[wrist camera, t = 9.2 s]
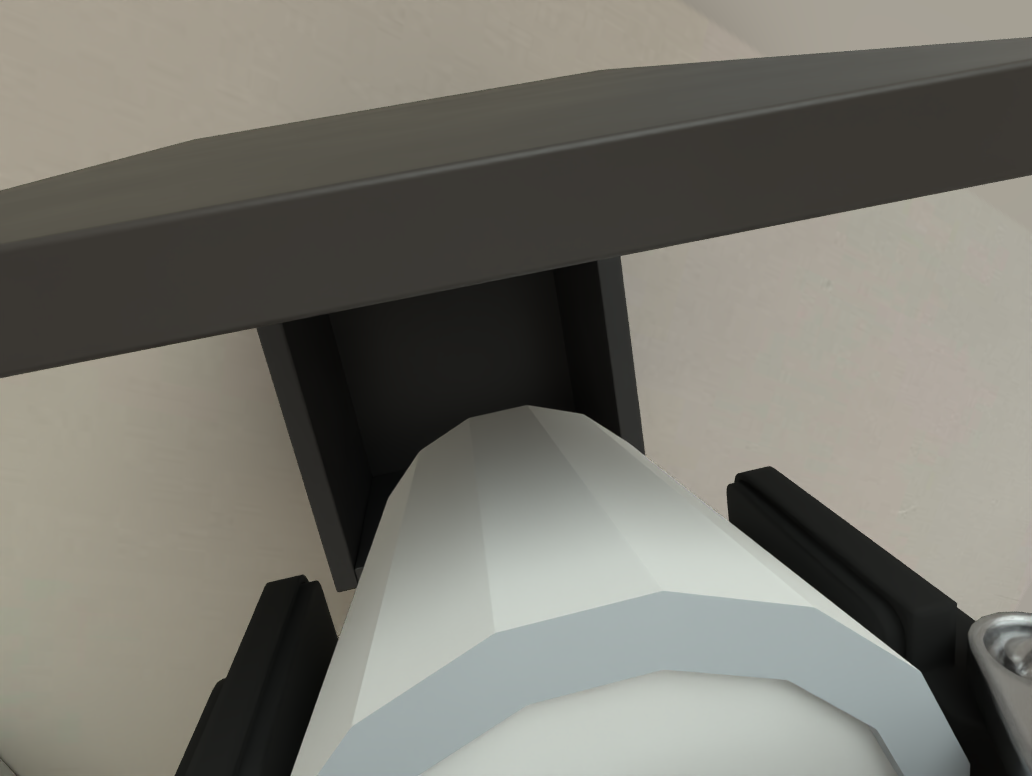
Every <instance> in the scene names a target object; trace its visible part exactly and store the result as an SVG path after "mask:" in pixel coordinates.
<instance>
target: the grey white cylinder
mask: <svg viewBox="0 0 1032 776" xmlns="http://www.w3.org/2000/svg"><path fill="white" fill-rule="evenodd" d="M291 776H970V763H969V761H968V759H967V757H966V755H965V754H964V752H963V750H962V748H961V746H960V744H959V742H958V740H957V739H956V737H955V735H954V733H953V731H952V729H951V727H950V726H949V724H948V722H947V720H946V718H945V716H944V714H943V712H942V711H941V709H940V707H939V705H938V703H937V701H936V699H935V698H934V696H933V694H932V692H931V690H930V688H929V686H928V684H927V683H926V681H925V679H924V677H923V675H922V673H921V672H920V671H919V670H918V669H917V668H915V667H914V666H913V665H911V664H910V663H909V662H908V661H906V660H905V659H904V658H903V657H901V656H900V655H899V654H897V653H896V652H895V651H894V650H892V649H891V648H890V647H889V646H887V645H886V644H885V643H883V642H882V641H881V640H880V639H878V638H877V637H876V636H874V635H873V634H872V633H871V632H869V631H868V630H867V629H866V628H864V627H863V626H862V625H860V624H859V623H858V622H857V621H855V620H854V619H853V618H851V617H850V616H849V615H848V614H846V613H845V612H844V611H843V610H841V609H840V608H839V607H837V606H836V605H835V604H834V603H832V602H831V601H830V600H829V599H827V598H826V597H825V596H823V595H822V594H821V593H820V592H818V591H817V590H816V589H814V588H813V587H812V586H811V585H809V584H808V583H807V582H806V581H804V580H803V579H802V578H800V577H799V576H798V575H797V574H795V573H794V572H793V571H791V570H790V569H789V568H788V567H786V566H785V565H784V564H783V563H781V562H780V561H779V560H777V559H776V558H775V557H774V556H772V555H771V554H770V553H769V552H767V551H766V550H765V549H763V548H762V547H761V546H760V545H758V544H757V543H756V542H754V541H753V540H752V539H751V538H749V537H748V536H747V535H746V534H744V533H743V532H742V531H740V530H739V529H738V528H737V527H735V526H734V525H733V524H731V523H730V522H729V521H728V520H726V519H725V518H724V517H723V516H721V515H720V514H719V513H717V512H716V511H715V510H714V509H712V508H711V507H710V506H709V505H707V504H706V503H705V502H703V501H702V500H701V499H700V498H698V497H697V496H696V495H694V494H693V493H692V492H691V491H689V490H688V489H687V488H686V487H684V486H683V485H682V484H680V483H679V482H678V481H677V480H675V479H674V478H673V477H671V476H670V475H669V474H668V473H666V472H665V471H664V470H663V469H661V468H660V467H659V466H657V465H656V464H655V463H654V462H652V461H651V460H650V459H649V458H647V457H646V456H645V455H643V454H642V453H641V452H640V451H638V450H637V449H636V448H634V447H633V446H632V445H631V444H629V443H628V442H626V441H625V440H623V439H622V438H620V437H619V436H617V435H615V434H614V433H612V432H611V431H609V430H608V429H606V428H604V427H603V426H601V425H600V424H598V423H597V422H595V421H593V420H592V419H590V418H589V417H587V416H586V415H584V414H579V413H573V412H567V411H561V410H555V409H549V408H542V407H536V406H530V405H525V406H520V407H516V408H511V409H507V410H502V411H498V412H493V413H489V414H484V415H480V416H475V417H471V418H468V419H467V420H465V421H464V422H462V423H461V424H459V425H458V426H456V427H455V428H453V429H452V430H450V431H449V432H447V433H446V434H444V435H443V436H441V437H440V438H438V439H437V440H435V441H434V442H432V443H431V444H429V445H428V446H426V447H425V448H423V449H422V450H420V451H419V453H418V454H417V456H416V457H415V459H414V460H413V462H412V463H411V465H410V466H409V468H408V469H407V471H406V472H405V474H404V475H403V477H402V478H401V480H400V481H399V483H398V484H397V486H396V487H395V489H394V490H393V492H392V493H391V495H390V496H389V498H388V500H387V503H386V506H385V509H384V512H383V514H382V517H381V520H380V523H379V526H378V529H377V531H376V534H375V537H374V540H373V543H372V546H371V548H370V551H369V554H368V557H367V560H366V563H365V565H364V568H363V571H362V574H361V577H360V580H359V583H358V585H357V588H356V591H355V594H354V597H353V600H352V602H351V605H350V608H349V611H348V614H347V617H346V619H345V622H344V625H343V628H342V631H341V634H340V637H339V639H338V642H337V645H336V648H335V651H334V654H333V656H332V659H331V662H330V665H329V668H328V671H327V673H326V676H325V679H324V682H323V685H322V688H321V691H320V693H319V696H318V699H317V702H316V705H315V708H314V710H313V713H312V716H311V719H310V722H309V725H308V727H307V730H306V733H305V736H304V739H303V742H302V744H301V747H300V750H299V753H298V756H297V759H296V762H295V764H294V767H293V770H292V773H291Z"/></svg>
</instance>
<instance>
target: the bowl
mask: <svg viewBox="0 0 1032 776" xmlns="http://www.w3.org/2000/svg"><path fill="white" fill-rule="evenodd" d="M0 776H16V775H15V774H14V773H13V772H12V770H11V769H10V768H9V767H8V766H7V765H6V764H5V763H4V762H3V761H2V760H1V759H0Z"/></svg>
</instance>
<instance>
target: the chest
mask: <svg viewBox="0 0 1032 776" xmlns="http://www.w3.org/2000/svg"><path fill="white" fill-rule="evenodd" d="M257 332H258V335H259V338H260V341H261V345H262V348H263V351H264V355H265V358H266V361H267V364H268V368H269V371H270V374H271V377H272V381H273V384H274V387H275V391H276V394H277V397H278V400H279V404H280V407H281V410H282V413H283V417H284V420H285V423H286V427H287V430H288V433H289V436H290V440H291V443H292V446H293V449H294V453H295V456H296V459H297V463H298V466H299V469H300V472H301V476H302V479H303V482H304V486H305V489H306V492H307V495H308V499H309V502H310V505H311V508H312V512H313V515H314V518H315V522H316V525H317V528H318V531H319V535H320V538H321V541H322V544H323V548H324V551H325V554H326V558H327V561H328V564H329V567H330V571H331V574H332V577H333V580H334V584H335V587H336V590H337V592H342V591H347V590H351V589H355V588H357V585H358V583H359V580H360V577H361V574H362V571H363V568H364V565H365V563H366V560H367V557H368V554H369V551H370V548H371V546H372V543H373V540H374V537H375V534H376V531H377V529H378V526H379V523H380V520H381V517H382V514H383V512H384V509H385V506H386V503H387V500H388V498H389V496H390V495H391V493H392V492H393V490H394V489H395V487H396V486H397V484H398V483H399V481H400V480H401V478H402V477H403V475H404V474H405V472H406V471H407V469H408V468H409V466H410V465H411V463H412V462H413V460H414V459H415V457H416V456H417V454H418V453H419V451H420V450H422V449H423V448H425V447H426V446H428V445H429V444H431V443H432V442H434V441H435V440H437V439H438V438H440V437H441V436H443V435H444V434H446V433H447V432H449V431H450V430H452V429H453V428H455V427H456V426H458V425H459V424H461V423H462V422H464V421H465V420H467V419H468V418H471V417H475V416H480V415H484V414H489V413H493V412H498V411H502V410H507V409H511V408H516V407H520V406H525V405H530V406H536V407H542V408H549V409H555V410H561V411H567V412H573V413H579V414H584V415H586V416H587V417H589V418H590V419H592V420H593V421H595V422H597V423H598V424H600V425H601V426H603V427H604V428H606V429H608V430H609V431H611V432H612V433H614V434H615V435H617V436H619V437H620V438H622V439H623V440H625V441H626V442H628V443H629V444H631V445H632V446H633V447H634V448H636V449H637V450H638V451H640V452H641V453H642V454H643V455H645V449H644V441H643V433H642V425H641V417H640V409H639V402H638V394H637V386H636V378H635V370H634V362H633V354H632V346H631V338H630V330H629V322H628V314H627V306H626V298H625V290H624V282H623V274H622V266H621V258H620V256H618V257H613V258H607V259H602V260H597V261H592V262H587V263H582V264H577V265H572V266H567V267H562V268H557V269H552V270H547V271H541V272H536V273H531V274H526V275H521V276H516V277H511V278H506V279H501V280H496V281H491V282H486V283H481V284H475V285H470V286H465V287H460V288H455V289H450V290H445V291H440V292H435V293H430V294H425V295H420V296H415V297H409V298H404V299H399V300H394V301H389V302H384V303H379V304H374V305H369V306H364V307H359V308H354V309H349V310H343V311H338V312H333V313H328V314H323V315H318V316H313V317H308V318H303V319H298V320H293V321H288V322H283V323H277V324H272V325H267V326H262V327H257Z"/></svg>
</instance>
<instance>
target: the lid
mask: <svg viewBox="0 0 1032 776" xmlns="http://www.w3.org/2000/svg"><path fill="white" fill-rule="evenodd" d="M1029 175H1032V37H1028V38H1014V39H1002V40H989V41H975V42H962V43H949V44H936V45H922V46H909V47H897V48H883V49H870V50H858V51H844V52H831V53H819V54H818V53H817V54H804V55H791V56H778V57H765V58H752V59H739V60H726V61H713V62H699V63H686V64H673V65H660V66H647V67H634V68H621V69H608V70H598V71H592V72H587V73H581V74H575V75H569V76H563V77H557V78H551V79H546V80H540V81H534V82H528V83H522V84H516V85H510V86H505V87H499V88H493V89H487V90H481V91H475V92H470V93H464V94H458V95H452V96H446V97H440V98H434V99H429V100H423V101H417V102H411V103H405V104H399V105H393V106H388V107H382V108H376V109H370V110H364V111H358V112H352V113H347V114H341V115H335V116H329V117H323V118H317V119H311V120H306V121H300V122H294V123H288V124H282V125H276V126H270V127H265V128H259V129H253V130H247V131H241V132H235V133H229V134H224V135H218V136H212V137H206V138H200V139H194V140H190V141H186V142H183V143H179V144H175V145H171V146H168V147H164V148H160V149H156V150H152V151H149V152H145V153H141V154H137V155H133V156H130V157H126V158H122V159H118V160H115V161H111V162H107V163H103V164H99V165H96V166H92V167H88V168H84V169H80V170H77V171H73V172H69V173H65V174H62V175H58V176H54V177H50V178H46V179H43V180H39V181H35V182H31V183H27V184H24V185H20V186H16V187H12V188H9V189H5V190H1V191H0V378H3V377H8V376H13V375H18V374H24V373H29V372H34V371H39V370H44V369H49V368H54V367H59V366H64V365H69V364H74V363H79V362H84V361H90V360H95V359H100V358H105V357H110V356H115V355H120V354H125V353H130V352H135V351H140V350H145V349H150V348H156V347H161V346H166V345H171V344H176V343H181V342H186V341H191V340H196V339H201V338H206V337H211V336H217V335H222V334H227V333H232V332H237V331H242V330H247V329H252V328H257V327H262V326H267V325H272V324H277V323H283V322H288V321H293V320H298V319H303V318H308V317H313V316H318V315H323V314H328V313H333V312H338V311H343V310H349V309H354V308H359V307H364V306H369V305H374V304H379V303H384V302H389V301H394V300H399V299H404V298H409V297H415V296H420V295H425V294H430V293H435V292H440V291H445V290H450V289H455V288H460V287H465V286H470V285H475V284H481V283H486V282H491V281H496V280H501V279H506V278H511V277H516V276H521V275H526V274H531V273H536V272H541V271H547V270H552V269H557V268H562V267H567V266H572V265H577V264H582V263H587V262H592V261H597V260H602V259H607V258H613V257H618V256H623V255H628V254H633V253H638V252H643V251H648V250H653V249H658V248H663V247H668V246H673V245H679V244H684V243H689V242H694V241H699V240H704V239H709V238H714V237H719V236H724V235H729V234H734V233H740V232H745V231H750V230H755V229H760V228H765V227H770V226H775V225H780V224H785V223H790V222H795V221H800V220H806V219H811V218H816V217H821V216H826V215H831V214H836V213H841V212H846V211H851V210H856V209H861V208H866V207H872V206H877V205H882V204H887V203H892V202H897V201H902V200H907V199H912V198H917V197H922V196H927V195H932V194H938V193H943V192H948V191H953V190H958V189H963V188H968V187H973V186H978V185H983V184H988V183H993V182H998V181H1004V180H1008V179H1014V178H1018V177H1024V176H1029Z"/></svg>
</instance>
